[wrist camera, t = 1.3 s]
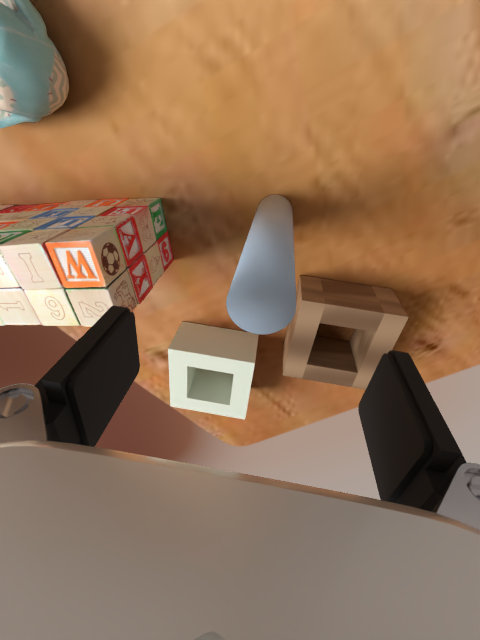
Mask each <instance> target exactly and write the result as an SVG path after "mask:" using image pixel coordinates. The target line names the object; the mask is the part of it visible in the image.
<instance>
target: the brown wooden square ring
mask: <svg viewBox="0 0 480 640" xmlns="http://www.w3.org/2000/svg"><path fill="white" fill-rule="evenodd" d="M408 318H409V316H408V315H407V313H406V311H405V310H404V308H403V306H402V305H401V303H400V301H399V300H398V298H397V296H396V295H395V293H394V291H393V290H392V289H389V288H382V287H376V286H369V285H363V284H356V283H350V282H343V281H336V280H330V279H323V278H317V277H310V276H304V275H300V278H299V282H298V286H297V290H296V312H295V315H294V317H293V319H292V320H291V322H290V323H289V324H288V328H287V332H286V336H285V340H284V345H283V376H289V377H295V378H301V379H307V380H313V381H319V382H324V383H330V384H336V385H342V386H348V387H354V388H360V389H366V388H367V386H368V384H369V382H370V380H371V378H372V376H373V374H374V372H375V370H376V368H377V365H378V363H379V361H380V359H381V357H382V355H383V354H384V353H387V354H388V352H389V351H391V350H392V349H393V347H394V345H395V343H396V341H397V339H398V337H399V335H400V333H401V332H402V330H403V328H404V326H405V324H406V322H407V320H408ZM319 323H322V324H329V325H335V326H341V327H347V328H354V331H353V334H352V336H351V339H350V341H344V340H338V339H331V338H325V337H319V336H316V333H317V329H318V326H319Z"/></svg>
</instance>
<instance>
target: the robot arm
mask: <svg viewBox="0 0 480 640" xmlns="http://www.w3.org/2000/svg"><path fill="white" fill-rule="evenodd" d="M139 368H140V363H139V354H138V344H137V335H136V325H135V316H134V313H133V312H130V309H129V308H127V307H120V306H111V307H110V308H109V309H108V310H107V311H106V312H105V314H104V315H103V316H102V317H101V318H100V319H99V320H98V321H97V322H96V323H95V324H94V325H93V326H92V327H91V328H90V329H89V330H88V331H87V332H86V333H85V334H84V335H83V336H82V337H81V338H80V339H79V340H78V341H77V342H76V343H75V344H74V345H73V346H72V347H71V348H70V350H68V351H67V352H66V353H65V355H64V356H63V357H62V358H61V359H60V360H59V361H58V362H57V363H56V364H55V365H54V366H53V367H52V368H51V369H50V370H49V371H48V372H47V373H46V374H45V375H44V376H43V378H42V379H41V380H40V381H39V382H38V383H37V384H36V385H35V386H33V385H29V384H16V385H10V386H8V387H5V388H2V389H0V640H480V465H479V464H476V463H466V461H465V459H464V457H463V455H462V453H461V451H460V449H459V447H458V445H457V443H456V441H455V439H454V438H453V436H452V434H451V432H450V430H449V428H448V426H447V424H446V422H445V421H444V419H443V417H442V415H441V413H440V411H439V409H438V407H437V405H436V404H435V402H434V400H433V398H432V396H431V394H430V392H429V390H428V389H427V387H426V385H425V383H424V381H423V379H422V377H421V375H420V373H419V372H418V370H417V368H416V366H415V364H414V362H413V360H412V358H411V356H410V355H409V354H408V353H405V352H399V351H393V350H391V351H389V352H388V354H387V353H384V354H383V355H382V357H381V359H380V361H379V363H378V365H377V368H376V370H375V372H374V374H373V376H372V378H371V380H370V382H369V384H368V386H367V388H366V390H365V393H364V395H363V397H362V399H361V401H360V403H359V415H360V419H361V423H362V427H363V431H364V435H365V439H366V443H367V447H368V451H369V455H370V459H371V463H372V467H373V471H374V475H375V479H376V483H377V487H378V491H379V495H380V498H381V500H377V499H372V498H368V497H363V496H358V495H352V494H348V493H343V492H337V491H332V490H327V489H321V488H316V487H311V486H306V485H300V484H295V483H290V482H285V481H280V480H274V479H268V478H264V477H258V476H253V475H248V474H242V473H237V472H231V471H226V470H220V469H215V468H210V467H204V466H199V465H193V464H188V463H182V462H177V461H171V460H166V459H160V458H155V457H149V456H144V455H138V454H133V453H127V452H121V451H115V450H109V449H103V448H97V447H94V446H95V445H96V443H97V442H98V440H99V438H100V437H101V435H102V433H103V431H104V430H105V428H106V426H107V425H108V423H109V421H110V420H111V418H112V416H113V415H114V413H115V411H116V410H117V408H118V406H119V405H120V403H121V401H122V400H123V398H124V396H125V395H126V393H127V391H128V390H129V388H130V386H131V384H132V383H133V381H134V379H135V378H136V376H137V374H138V372H139Z"/></svg>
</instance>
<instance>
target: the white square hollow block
mask: <svg viewBox="0 0 480 640" xmlns="http://www.w3.org/2000/svg"><path fill="white" fill-rule="evenodd" d="M258 337H259V334H254V333H250V332H244V331H238V330H232V329H226V328H220V327H213V326H207V325H201V324H195V323H189V322H183V321H182V323H181V325H180V327H179V329H178V331H177V332H176V334H175V336H174V338H173V340H172V342H171V344H170V346H169V348H168V358H169V381H170V405H171V406H172V407H178V408H183V409H189V410H195V411H200V412H206V413H211V414H217V415H223V416H228V417H234V418H239V419H245V417H246V411H247V405H248V400H249V394H250V389H251V383H252V377H253V372H254V366H255V360H256V352H257V345H258ZM200 368H201V369H200ZM217 371H218V372H217ZM223 372H224V373H223ZM229 373H230V374H229Z"/></svg>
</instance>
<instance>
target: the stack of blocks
mask: <svg viewBox="0 0 480 640" xmlns="http://www.w3.org/2000/svg"><path fill="white" fill-rule="evenodd" d="M173 260H174V259H173V254H172V249H171V244H170V240H169V235H168V231H167V228H166V223H165V218H164V213H163V208H162V203H161V198H140V199H129V198H121V199H101V200H79V201H70V202H65V203H48V204H41V205H23V206H15V205H0V325H1V326H2V325H39V324H42V325H45V326H47V325H48V326H79V325H82V326H87V327H92V326H93V325H94V324H95V323H96V322H97V321H98V320H99V319H100V318H101V317H102V316H103V315H104V314H105V312H106V311H107V310H108V309H109V308H110V307H111V306H120V307H127V308H129V309H130V312H133V310H134V309H135V308H136V306H137V305H138V304H140V303H141V302H142V301H143V300H144V298H145V297H146V296H147V295H148V293H149V292H150V290H151V289H152V288H153V285H154V284H155V283H156V281H157V280H158V279H159V277H160V276H161V275H162V274H163V272H165V270H166V269H167V268H168V266H169V265H170V264H171V263H172V262H173Z"/></svg>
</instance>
